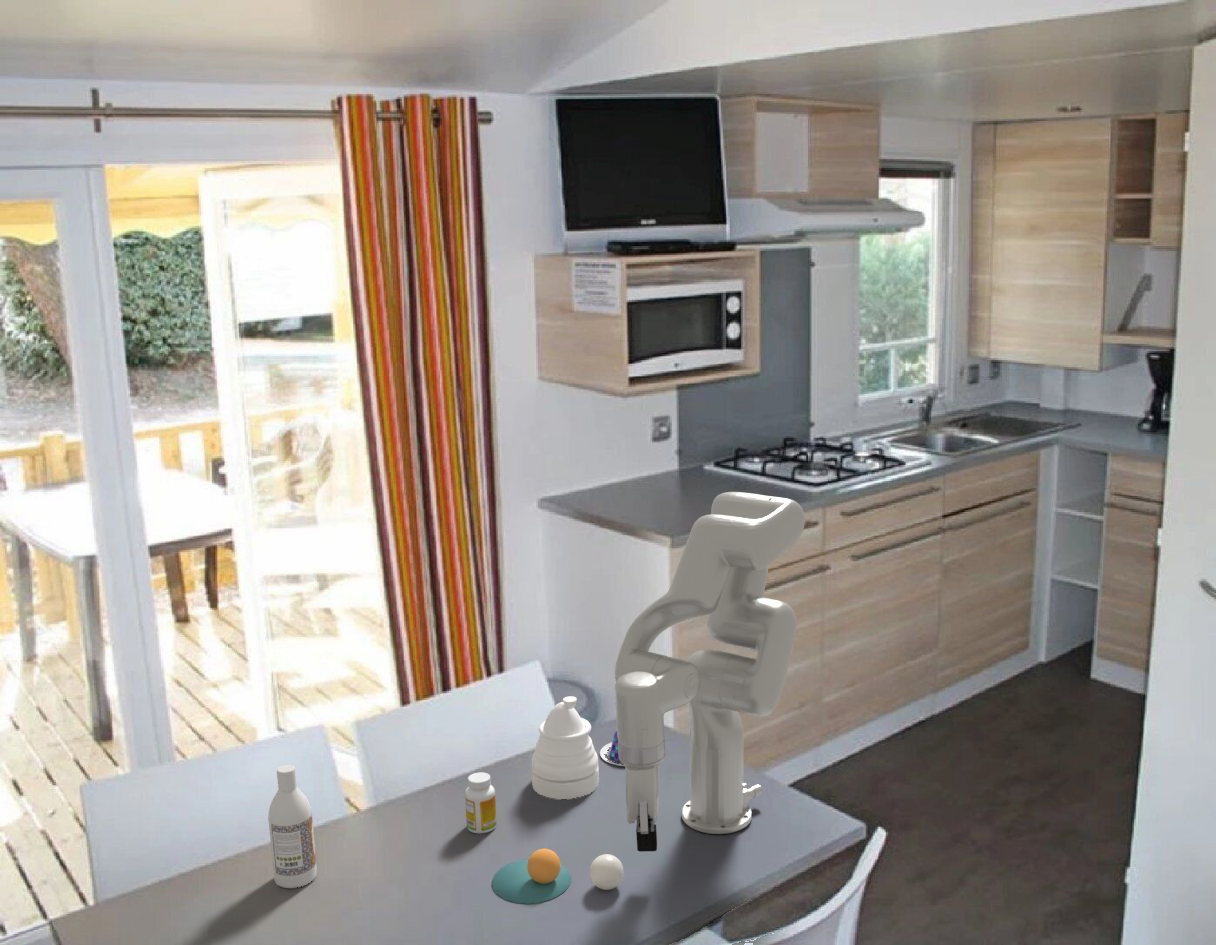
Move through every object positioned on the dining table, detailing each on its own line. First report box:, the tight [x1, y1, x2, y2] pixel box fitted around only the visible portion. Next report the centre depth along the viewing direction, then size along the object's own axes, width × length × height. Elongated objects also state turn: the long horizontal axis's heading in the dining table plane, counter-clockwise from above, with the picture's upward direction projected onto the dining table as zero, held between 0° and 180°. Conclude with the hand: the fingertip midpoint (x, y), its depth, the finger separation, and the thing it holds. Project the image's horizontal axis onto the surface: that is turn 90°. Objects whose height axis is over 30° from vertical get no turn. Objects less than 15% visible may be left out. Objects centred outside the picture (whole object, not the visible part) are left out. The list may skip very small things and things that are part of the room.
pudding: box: [599, 730, 625, 767], centre depth 239 cm, size 12×12×5 cm
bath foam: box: [268, 764, 318, 889], centre depth 196 cm, size 7×7×20 cm
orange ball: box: [527, 848, 562, 884], centre depth 195 cm, size 6×6×6 cm
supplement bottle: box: [464, 771, 498, 834], centre depth 212 cm, size 5×5×10 cm
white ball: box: [589, 853, 624, 891], centre depth 193 cm, size 6×6×6 cm
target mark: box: [491, 858, 572, 905], centre depth 196 cm, size 13×13×1 cm
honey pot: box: [531, 695, 600, 800], centre depth 227 cm, size 13×13×18 cm
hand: (647, 848), depth 195 cm, fingers closed
